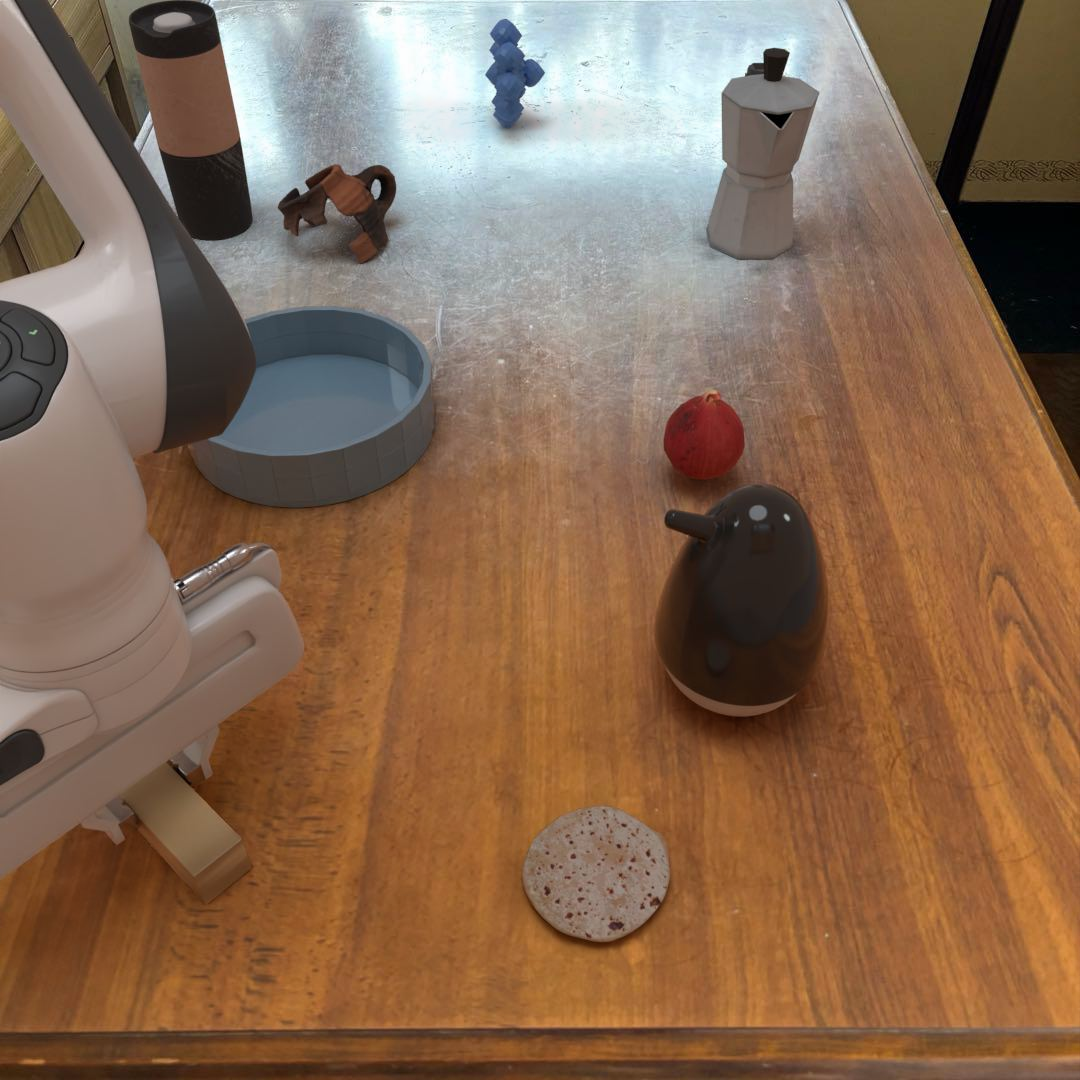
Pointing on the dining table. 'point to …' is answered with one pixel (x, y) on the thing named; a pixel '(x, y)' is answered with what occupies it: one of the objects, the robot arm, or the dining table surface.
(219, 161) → the travel mug
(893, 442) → the dining table surface
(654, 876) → the flatbread
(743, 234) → the coffee maker
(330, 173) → the brown wooden curved piece
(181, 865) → the gold bar
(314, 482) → the bowl
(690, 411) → the onion
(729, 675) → the pump dispenser
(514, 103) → the grapes
